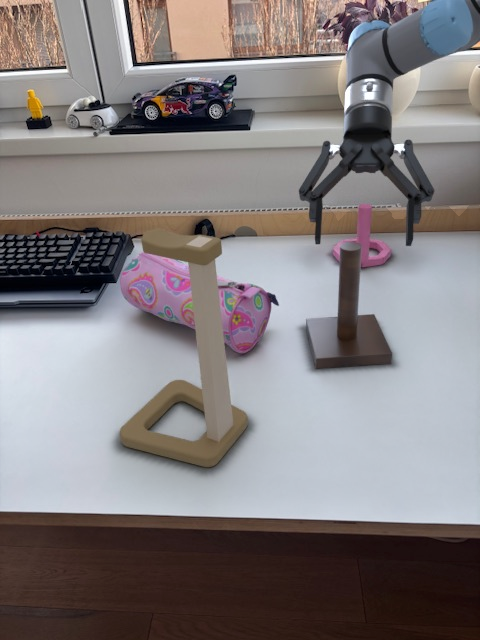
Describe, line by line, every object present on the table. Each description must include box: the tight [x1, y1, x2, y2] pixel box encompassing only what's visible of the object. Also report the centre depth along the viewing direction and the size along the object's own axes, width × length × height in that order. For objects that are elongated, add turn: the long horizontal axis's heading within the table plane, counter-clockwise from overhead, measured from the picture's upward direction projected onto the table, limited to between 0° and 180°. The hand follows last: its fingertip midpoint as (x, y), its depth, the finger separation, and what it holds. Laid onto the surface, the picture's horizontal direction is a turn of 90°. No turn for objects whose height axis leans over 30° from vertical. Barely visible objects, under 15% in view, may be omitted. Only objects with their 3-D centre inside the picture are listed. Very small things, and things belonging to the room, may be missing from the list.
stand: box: [305, 242, 393, 369], centre depth 65 cm, size 9×9×14 cm
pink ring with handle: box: [332, 203, 392, 268], centre depth 87 cm, size 9×10×10 cm
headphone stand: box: [119, 227, 249, 468], centre depth 51 cm, size 10×11×22 cm
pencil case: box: [119, 251, 280, 354], centre depth 72 cm, size 21×9×9 cm, turn 50°
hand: (362, 242), depth 82 cm, fingers open, 13 cm apart
